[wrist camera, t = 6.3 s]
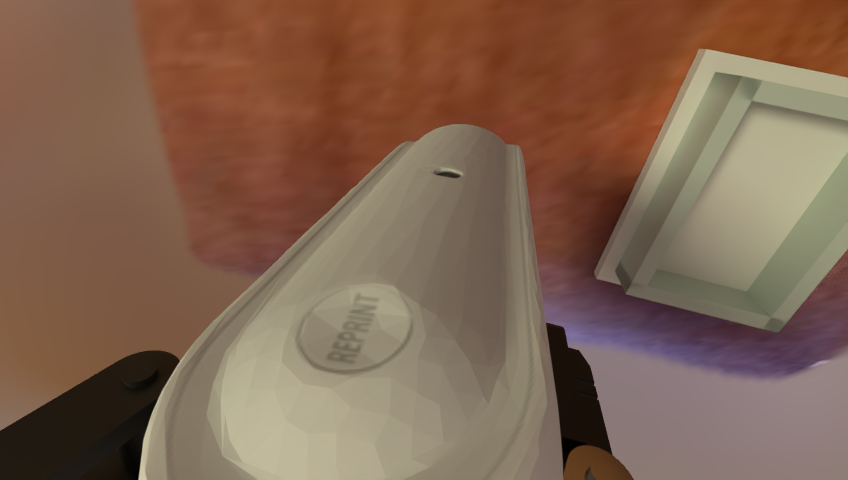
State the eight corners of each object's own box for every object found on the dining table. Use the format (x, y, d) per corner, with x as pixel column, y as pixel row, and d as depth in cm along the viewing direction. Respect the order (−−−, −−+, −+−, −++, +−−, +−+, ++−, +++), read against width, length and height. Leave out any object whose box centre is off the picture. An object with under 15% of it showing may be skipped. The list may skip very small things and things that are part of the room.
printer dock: (699, 48, 23) (733, 50, 19) (916, 92, 22) (994, 103, 18) (593, 272, 31) (604, 301, 27) (751, 311, 30) (784, 348, 26)
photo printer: (393, 117, 12) (-441, 709, 1) (534, 119, 12) (961, 1370, 1) (405, 361, 17) (231, 927, 6) (506, 374, 16) (507, 1042, 5)
